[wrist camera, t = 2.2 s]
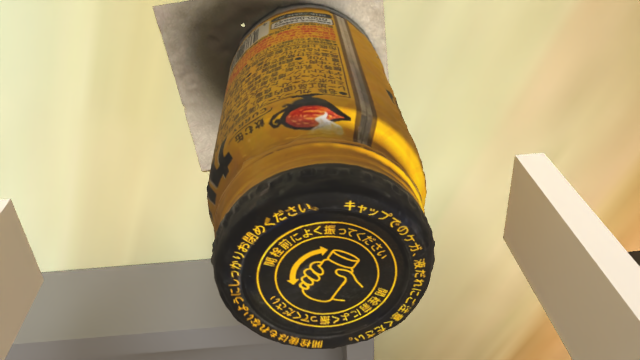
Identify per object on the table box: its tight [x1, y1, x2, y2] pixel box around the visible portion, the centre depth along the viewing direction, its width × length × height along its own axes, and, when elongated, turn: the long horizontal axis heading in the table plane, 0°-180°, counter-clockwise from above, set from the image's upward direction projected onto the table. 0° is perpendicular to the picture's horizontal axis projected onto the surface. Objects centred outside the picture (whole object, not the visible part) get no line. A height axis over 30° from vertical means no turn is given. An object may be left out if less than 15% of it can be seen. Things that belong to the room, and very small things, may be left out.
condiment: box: [153, 0, 435, 349], centre depth 18 cm, size 7×8×12 cm
